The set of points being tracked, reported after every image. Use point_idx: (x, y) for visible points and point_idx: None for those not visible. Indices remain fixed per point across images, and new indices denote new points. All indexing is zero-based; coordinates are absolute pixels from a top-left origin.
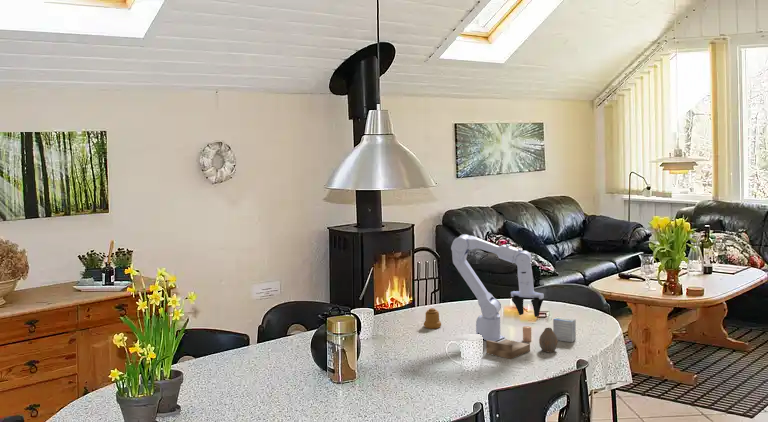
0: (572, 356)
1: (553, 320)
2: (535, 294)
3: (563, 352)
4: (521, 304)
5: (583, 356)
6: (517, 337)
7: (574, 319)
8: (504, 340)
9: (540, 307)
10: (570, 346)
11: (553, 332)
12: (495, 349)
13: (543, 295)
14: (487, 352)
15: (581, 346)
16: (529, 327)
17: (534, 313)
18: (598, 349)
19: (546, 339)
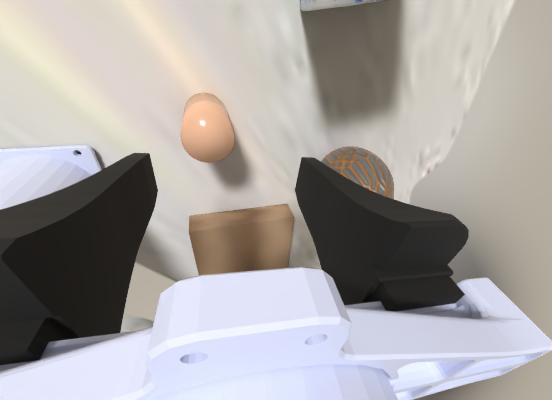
0: (410, 165)
1: (360, 2)
2: (429, 391)
3: (382, 151)
4: (113, 221)
5: (439, 145)
6: (124, 93)
7: None
8: (196, 242)
9: (357, 186)
10: (394, 68)
11: (393, 197)
12: None
13: (520, 316)
14: None
15: (435, 36)
16: (220, 130)
17: (305, 211)
18: (495, 34)
19: None
